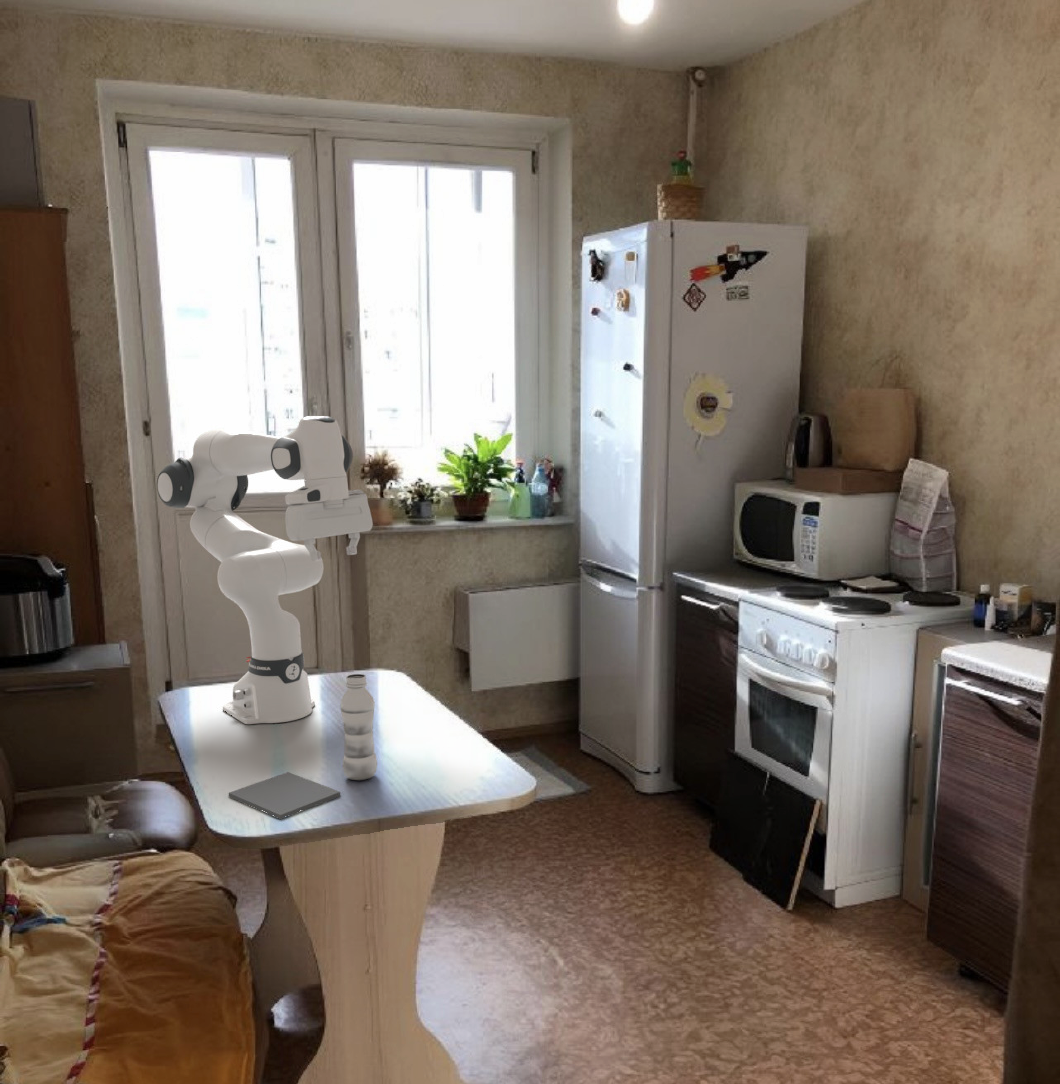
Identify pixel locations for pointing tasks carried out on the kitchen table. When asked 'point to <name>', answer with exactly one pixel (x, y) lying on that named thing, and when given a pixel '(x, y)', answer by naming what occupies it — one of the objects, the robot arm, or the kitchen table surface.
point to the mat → (284, 794)
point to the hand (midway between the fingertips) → (334, 557)
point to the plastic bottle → (358, 729)
